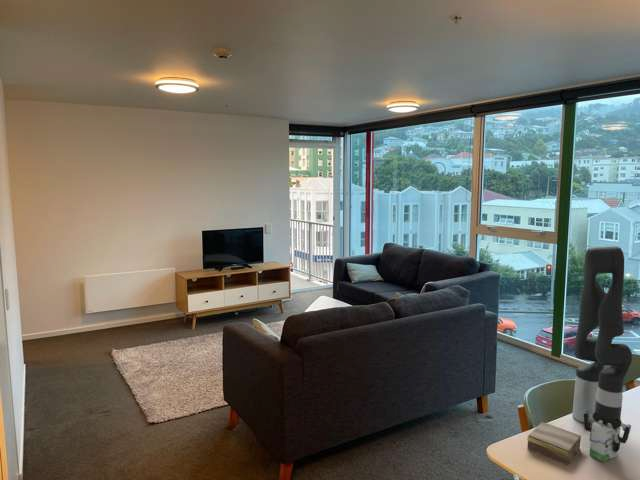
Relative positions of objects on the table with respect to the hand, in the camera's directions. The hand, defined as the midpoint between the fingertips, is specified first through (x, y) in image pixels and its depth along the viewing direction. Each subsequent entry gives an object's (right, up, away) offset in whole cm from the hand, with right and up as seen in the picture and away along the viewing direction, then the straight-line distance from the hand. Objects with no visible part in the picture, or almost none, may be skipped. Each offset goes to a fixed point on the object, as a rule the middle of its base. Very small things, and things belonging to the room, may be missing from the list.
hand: (604, 447), depth 160 cm
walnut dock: (-15, -2, +4) cm, 16 cm away
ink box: (0, -3, 0) cm, 3 cm away
